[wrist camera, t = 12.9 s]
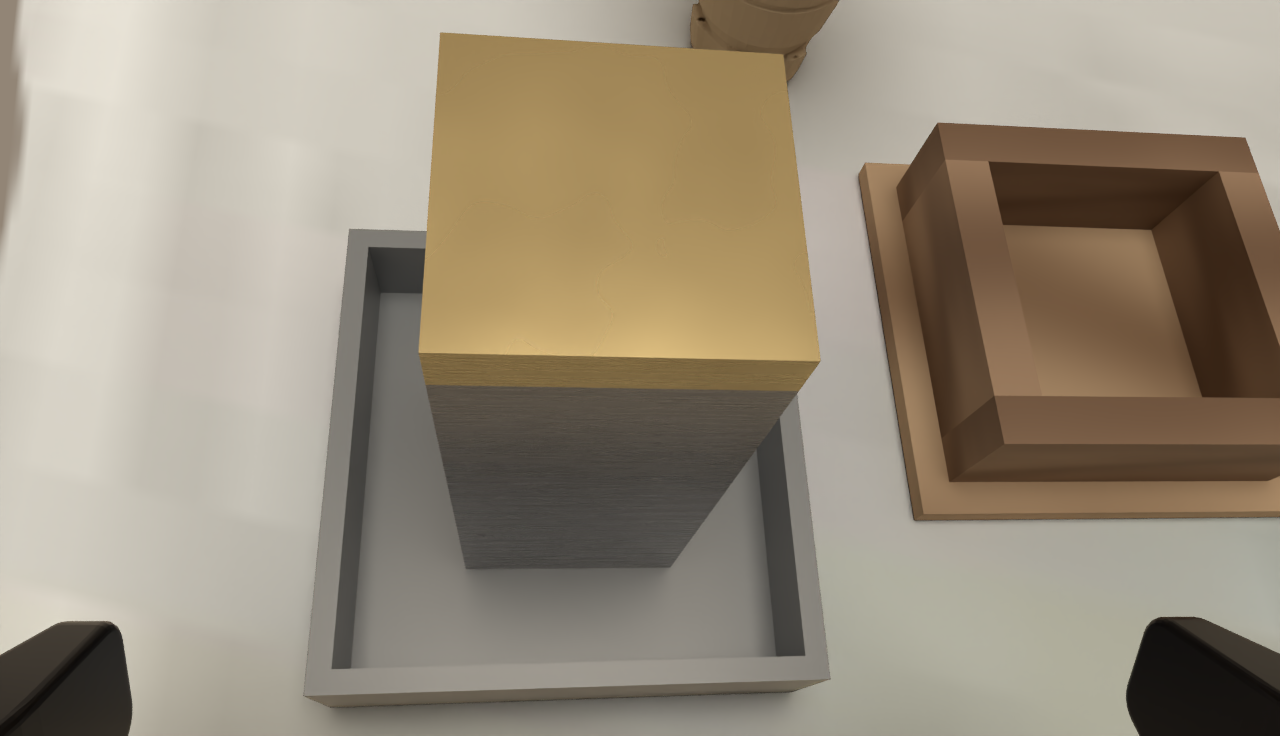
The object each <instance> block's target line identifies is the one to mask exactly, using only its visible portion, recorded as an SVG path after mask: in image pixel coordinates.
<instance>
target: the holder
mask: <svg viewBox="0 0 1280 736" xmlns="http://www.w3.org/2000/svg"><path fill="white" fill-rule="evenodd" d="M859 181H860V187H861V193H862V200H863V206H864V212H865V218H866V224H867V230H868V237H869V243H870V249H871V255H872V261H873V267H874V274H875V280H876V286H877V292H878V298H879V304H880V311H881V317H882V323H883V329H884V335H885V341H886V348H887V354H888V360H889V366H890V372H891V378H892V385H893V391H894V397H895V403H896V409H897V415H898V422H899V428H900V434H901V440H902V446H903V452H904V459H905V465H906V471H907V477H908V483H909V489H910V496H911V502H912V508H913V514H914V520H990V519H1099V518H1208V517H1280V230H1279V228H1278V225H1277V222H1276V219H1275V217H1274V214H1273V211H1272V209H1271V206H1270V203H1269V201H1268V198H1267V195H1266V192H1265V190H1264V187H1263V184H1262V182H1261V179H1260V176H1259V173H1258V171H1257V168H1256V165H1255V163H1254V160H1253V157H1252V154H1251V152H1250V149H1249V146H1248V144H1247V141H1246V138H1242V137H1221V136H1201V135H1180V134H1160V133H1139V132H1118V131H1098V130H1077V129H1057V128H1036V127H1016V126H995V125H975V124H954V123H937V124H936V126H935V127H934V129H933V131H932V132H931V134H930V135H929V137H928V138H927V140H926V141H925V143H924V145H923V146H922V148H921V149H920V151H919V152H918V154H917V155H916V157H915V159H914V160H913V162H912V163H911V165H905V164H882V163H865V164H864V166H863V167H862V169H861V171H860V173H859Z"/></svg>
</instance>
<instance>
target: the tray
mask: <svg viewBox="0 0 1280 736" xmlns="http://www.w3.org/2000/svg"><path fill="white" fill-rule="evenodd" d="M426 235H427V231H400V230H368V229H349V236H348V246H347V256H346V266H345V277H344V287H343V297H342V307H341V317H340V328H339V338H338V348H337V358H336V368H335V379H334V389H333V399H332V409H331V419H330V430H329V440H328V450H327V460H326V470H325V481H324V491H323V501H322V511H321V521H320V532H319V542H318V552H317V562H316V572H315V583H314V593H313V603H312V613H311V623H310V634H309V644H308V654H307V664H306V674H305V685H304V695H303V696H305V697H307V698H309V699H312V700H314V701H317V702H319V703H321V704H324V705H326V706H328V707H360V706H390V705H420V704H450V703H480V702H510V701H539V700H569V699H599V698H629V697H659V696H689V695H718V694H748V693H778V692H793V691H796V690H799V689H802V688H805V687H808V686H811V685H814V684H817V683H820V682H823V681H826V680H830V671H829V662H828V654H827V645H826V637H825V628H824V620H823V611H822V603H821V594H820V586H819V577H818V568H817V560H816V551H815V543H814V534H813V526H812V517H811V509H810V500H809V492H808V483H807V475H806V466H805V458H804V449H803V440H802V432H801V423H800V415H799V406H798V398H797V394H796V396H795V397H794V398H793V400H792V401H791V402H790V404H789V405H788V407H787V408H786V409H785V411H784V412H783V413H782V415H781V416H780V418H779V419H778V420H777V422H776V423H775V424H774V426H773V427H772V429H771V430H770V431H769V433H768V434H767V435H766V437H765V438H764V440H763V441H762V442H761V444H760V445H759V446H758V448H757V449H756V451H755V452H754V453H753V455H752V456H751V457H750V459H749V460H748V462H747V463H746V464H745V466H744V467H743V468H742V470H741V471H740V473H739V474H738V475H737V477H736V478H735V479H734V481H733V482H732V484H731V485H730V486H729V488H728V489H727V490H726V492H725V493H724V495H723V496H722V497H721V499H720V500H719V501H718V503H717V504H716V506H715V507H714V508H713V510H712V511H711V512H710V514H709V515H708V517H707V518H706V519H705V521H704V522H703V523H702V525H701V526H700V528H699V529H698V530H697V532H696V533H695V534H694V536H693V537H692V539H691V540H690V541H689V543H688V544H687V545H686V547H685V548H684V550H683V551H682V552H681V554H680V555H679V556H678V558H677V559H676V560H675V562H674V563H673V565H672V566H671V567H670V568H557V569H466V568H465V563H464V559H463V554H462V549H461V545H460V540H459V536H458V531H457V527H456V522H455V517H454V513H453V508H452V504H451V499H450V495H449V490H448V485H447V481H446V476H445V472H444V467H443V463H442V458H441V453H440V449H439V444H438V440H437V435H436V431H435V426H434V421H433V417H432V412H431V408H430V403H429V399H428V394H427V389H426V385H425V380H424V376H423V371H422V367H421V362H420V357H419V353H418V352H419V338H420V323H421V308H422V294H423V279H424V264H425V250H426Z"/></svg>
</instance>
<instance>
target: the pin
mask: <svg viewBox="0 0 1280 736" xmlns="http://www.w3.org/2000/svg"><path fill="white" fill-rule="evenodd" d="M418 353H419V357H420V362H421V367H422V371H423V376H424V380H425V385H426V389H427V394H428V399H429V403H430V408H431V412H432V417H433V421H434V426H435V431H436V435H437V440H438V444H439V449H440V453H441V458H442V463H443V467H444V472H445V476H446V481H447V485H448V490H449V495H450V499H451V504H452V508H453V513H454V517H455V522H456V527H457V531H458V536H459V540H460V545H461V549H462V554H463V559H464V563H465V568H466V569H557V568H670V567H671V566H672V565H673V563H674V562H675V560H676V559H677V558H678V556H679V555H680V554H681V552H682V551H683V550H684V548H685V547H686V545H687V544H688V543H689V541H690V540H691V539H692V537H693V536H694V534H695V533H696V532H697V530H698V529H699V528H700V526H701V525H702V523H703V522H704V521H705V519H706V518H707V517H708V515H709V514H710V512H711V511H712V510H713V508H714V507H715V506H716V504H717V503H718V501H719V500H720V499H721V497H722V496H723V495H724V493H725V492H726V490H727V489H728V488H729V486H730V485H731V484H732V482H733V481H734V479H735V478H736V477H737V475H738V474H739V473H740V471H741V470H742V468H743V467H744V466H745V464H746V463H747V462H748V460H749V459H750V457H751V456H752V455H753V453H754V452H755V451H756V449H757V448H758V446H759V445H760V444H761V442H762V441H763V440H764V438H765V437H766V435H767V434H768V433H769V431H770V430H771V429H772V427H773V426H774V424H775V423H776V422H777V420H778V419H779V418H780V416H781V415H782V413H783V412H784V411H785V409H786V408H787V407H788V405H789V404H790V402H791V401H792V400H793V398H794V397H795V396H796V394H797V393H798V391H799V390H800V389H801V387H802V386H803V385H804V383H805V382H806V380H807V379H808V378H809V376H810V375H811V374H812V372H813V371H814V370H815V368H816V367H817V365H818V364H819V363H820V352H819V344H818V336H817V328H816V320H815V311H814V303H813V295H812V287H811V279H810V270H809V262H808V254H807V246H806V238H805V229H804V221H803V213H802V205H801V196H800V188H799V180H798V172H797V164H796V155H795V147H794V139H793V131H792V123H791V114H790V106H789V98H788V90H787V82H786V73H785V65H784V57H783V54H771V53H755V52H739V51H723V50H708V49H692V48H676V47H660V46H645V45H629V44H613V43H597V42H582V41H566V40H550V39H535V38H519V37H503V36H487V35H472V34H456V33H440V45H439V59H438V74H437V89H436V103H435V118H434V133H433V147H432V162H431V176H430V191H429V206H428V220H427V235H426V250H425V264H424V279H423V294H422V308H421V323H420V338H419V352H418Z"/></svg>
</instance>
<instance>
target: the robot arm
mask: <svg viewBox="0 0 1280 736" xmlns="http://www.w3.org/2000/svg"><path fill="white" fill-rule="evenodd" d="M1126 701H1127V708H1128V711H1129V715H1130V717H1131V720H1132V722H1133V724H1134V726H1135V728H1136V730H1137V732H1138V734H1139V736H1280V654H1279V653H1277V652H1275V651H1272V650H1270V649H1268V648H1266V647H1264V646H1262V645H1259V644H1257V643H1255V642H1253V641H1251V640H1248V639H1246V638H1244V637H1242V636H1240V635H1238V634H1235V633H1233V632H1231V631H1229V630H1227V629H1224V628H1222V627H1220V626H1218V625H1216V624H1213V623H1211V622H1209V621H1207V620H1204V619H1202V618H1197V617H1159V618H1157V619H1154V620H1152V621H1151V622H1150V623H1149V625H1148V626H1147V627H1146V629H1145V631H1144V634H1143V637H1142V640H1141V644H1140V647H1139V650H1138V653H1137V656H1136V660H1135V663H1134V666H1133V669H1132V672H1131V676H1130V679H1129V682H1128V685H1127V690H1126ZM131 720H132V698H131V691H130V685H129V678H128V671H127V665H126V658H125V651H124V645H123V639H122V635H121V632H120V630H119V628H118V627H117V626H116V625H114V624H113V623H111V622H109V621H66V622H61V623H57V624H55V625H53V626H51V627H50V628H48V629H46V630H44V631H42V632H41V633H39V634H37V635H35V636H33V637H32V638H30V639H28V640H26V641H25V642H23V643H21V644H19V645H17V646H16V647H14V648H12V649H10V650H8V651H7V652H5V653H3V654H1V655H0V736H128V734H129V730H130V726H131Z"/></svg>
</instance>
